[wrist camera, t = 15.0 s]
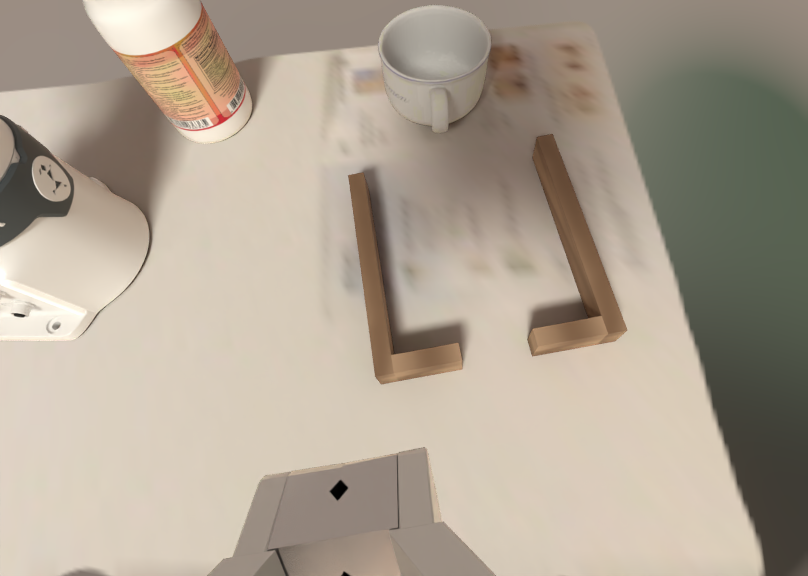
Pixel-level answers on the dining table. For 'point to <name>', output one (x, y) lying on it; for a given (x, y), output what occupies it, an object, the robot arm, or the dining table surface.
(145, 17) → the fruit juice
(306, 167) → the dining table surface
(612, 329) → the wooden l-brackets
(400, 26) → the teacup
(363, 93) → the dining table surface
